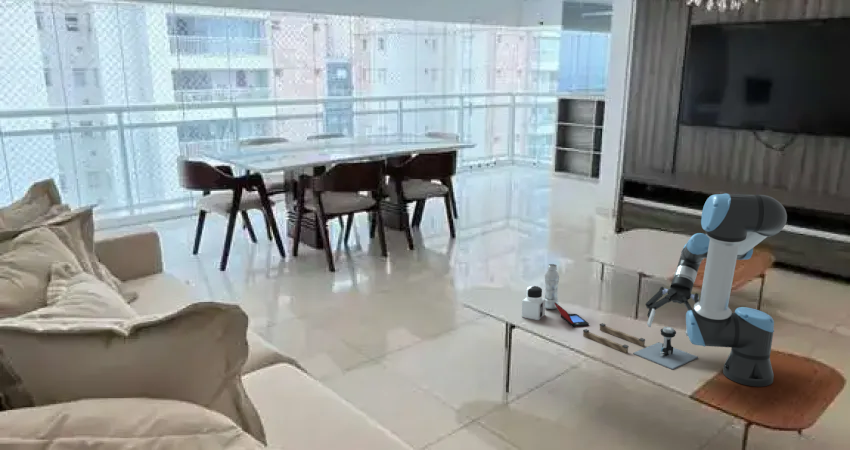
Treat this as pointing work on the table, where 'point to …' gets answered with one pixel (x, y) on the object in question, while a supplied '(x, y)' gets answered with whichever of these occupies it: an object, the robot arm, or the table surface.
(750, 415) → the table surface
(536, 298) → the container
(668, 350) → the push button
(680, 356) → the slate mat
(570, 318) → the handheld game console
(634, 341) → the rails
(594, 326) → the table surface
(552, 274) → the plastic bottle
